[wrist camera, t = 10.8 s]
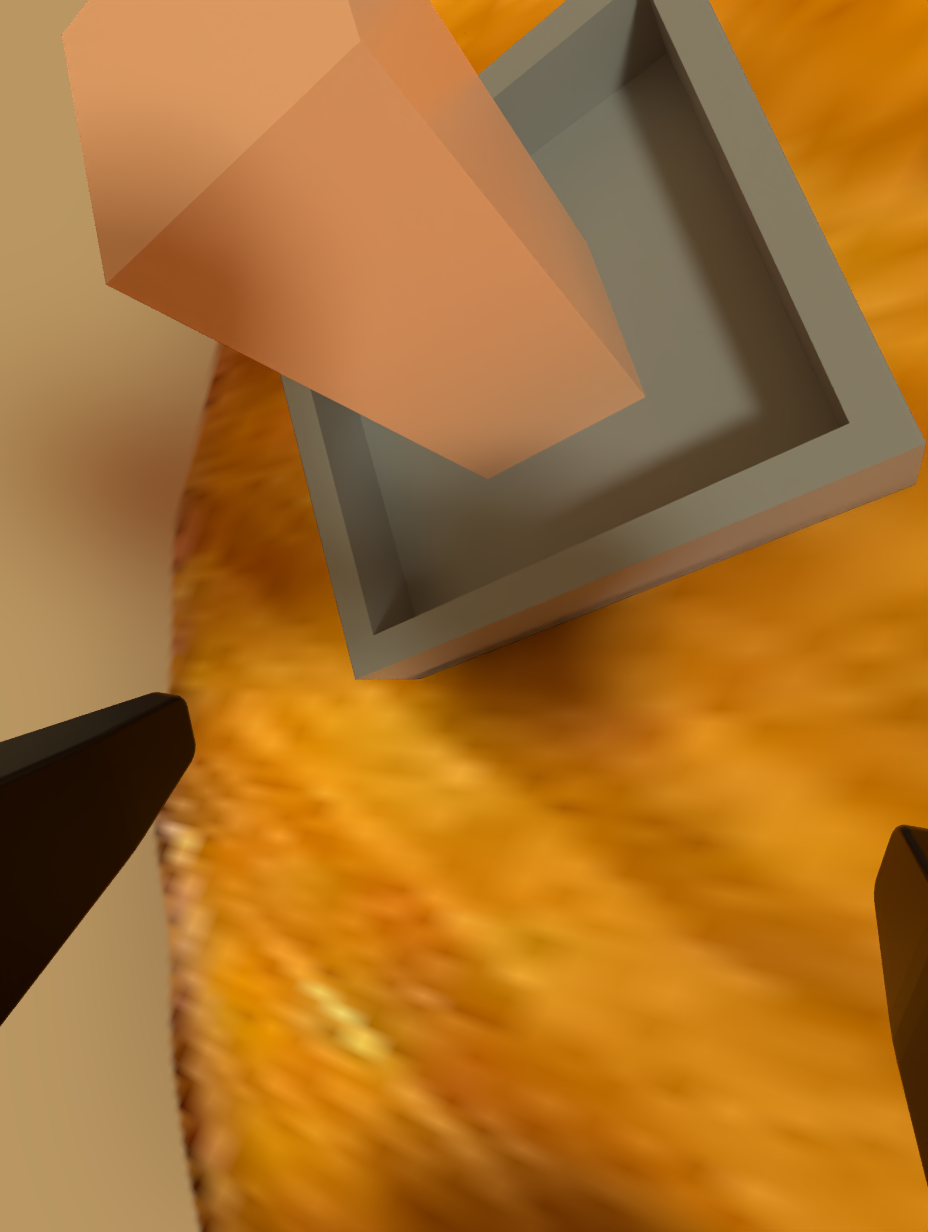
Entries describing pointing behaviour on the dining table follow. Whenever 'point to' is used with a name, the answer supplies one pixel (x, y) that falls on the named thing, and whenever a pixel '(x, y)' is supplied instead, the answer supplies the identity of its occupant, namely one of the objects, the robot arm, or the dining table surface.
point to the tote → (661, 354)
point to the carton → (345, 216)
